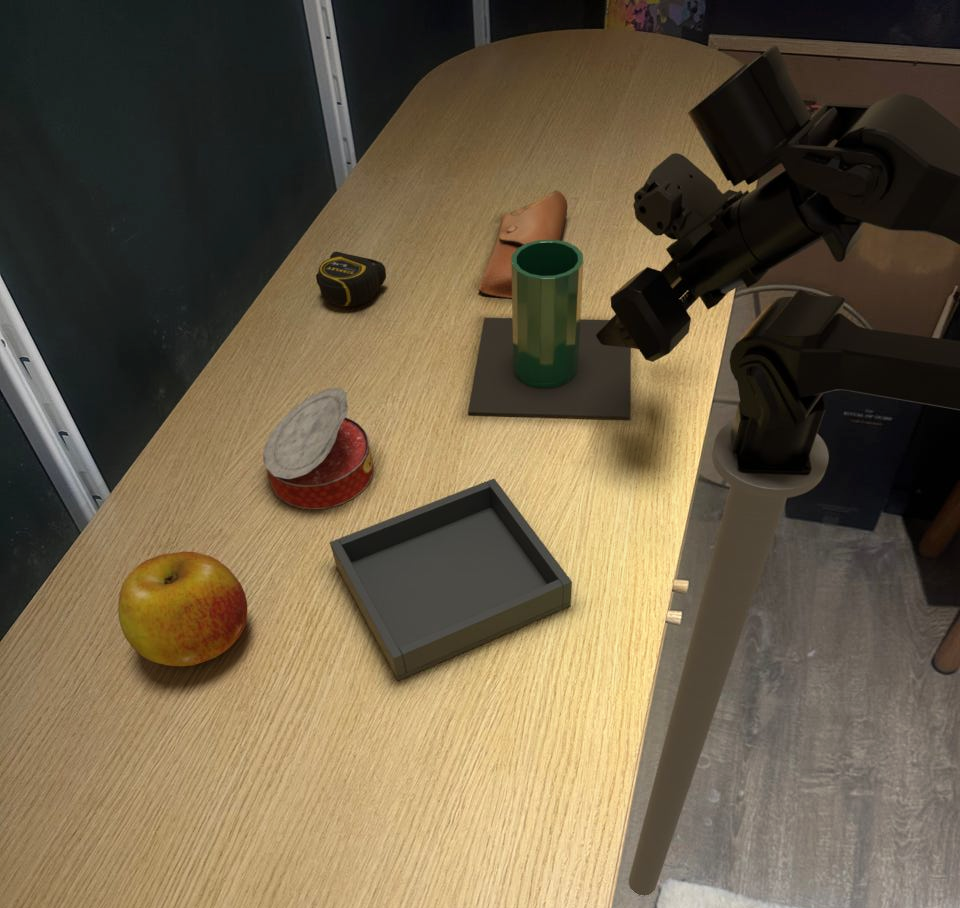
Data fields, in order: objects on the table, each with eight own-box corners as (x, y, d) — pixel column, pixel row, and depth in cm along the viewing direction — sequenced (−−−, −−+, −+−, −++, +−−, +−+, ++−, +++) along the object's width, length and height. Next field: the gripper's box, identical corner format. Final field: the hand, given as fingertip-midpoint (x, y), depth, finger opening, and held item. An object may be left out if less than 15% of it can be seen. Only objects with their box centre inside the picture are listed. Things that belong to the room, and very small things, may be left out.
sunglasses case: (499, 211, 107) (526, 165, 102) (547, 241, 109) (575, 197, 104) (475, 294, 97) (504, 246, 91) (528, 325, 99) (559, 280, 94)
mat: (630, 323, 93) (630, 320, 92) (630, 420, 83) (630, 416, 83) (484, 320, 94) (484, 317, 94) (468, 415, 85) (467, 411, 85)
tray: (495, 503, 78) (494, 477, 75) (571, 605, 70) (572, 581, 68) (336, 566, 74) (329, 541, 72) (398, 681, 67) (392, 658, 64)
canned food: (349, 540, 82) (306, 509, 72) (268, 495, 85) (216, 460, 75) (408, 439, 82) (373, 395, 73) (325, 397, 85) (281, 349, 75)
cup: (588, 378, 87) (595, 267, 77) (528, 395, 86) (528, 285, 76) (561, 342, 91) (564, 232, 81) (503, 359, 89) (500, 249, 80)
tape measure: (391, 287, 99) (386, 256, 96) (361, 318, 96) (355, 288, 93) (341, 274, 101) (335, 244, 98) (310, 305, 98) (303, 275, 95)
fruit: (246, 582, 73) (218, 517, 67) (267, 662, 68) (240, 600, 62) (134, 615, 72) (95, 552, 65) (147, 700, 67) (106, 640, 60)
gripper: (763, 86, 67) (628, 192, 80) (645, 188, 59) (516, 287, 72) (830, 211, 71) (691, 293, 84) (728, 324, 62) (591, 395, 75)
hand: (625, 313), depth 79 cm, fingers open, 9 cm apart
